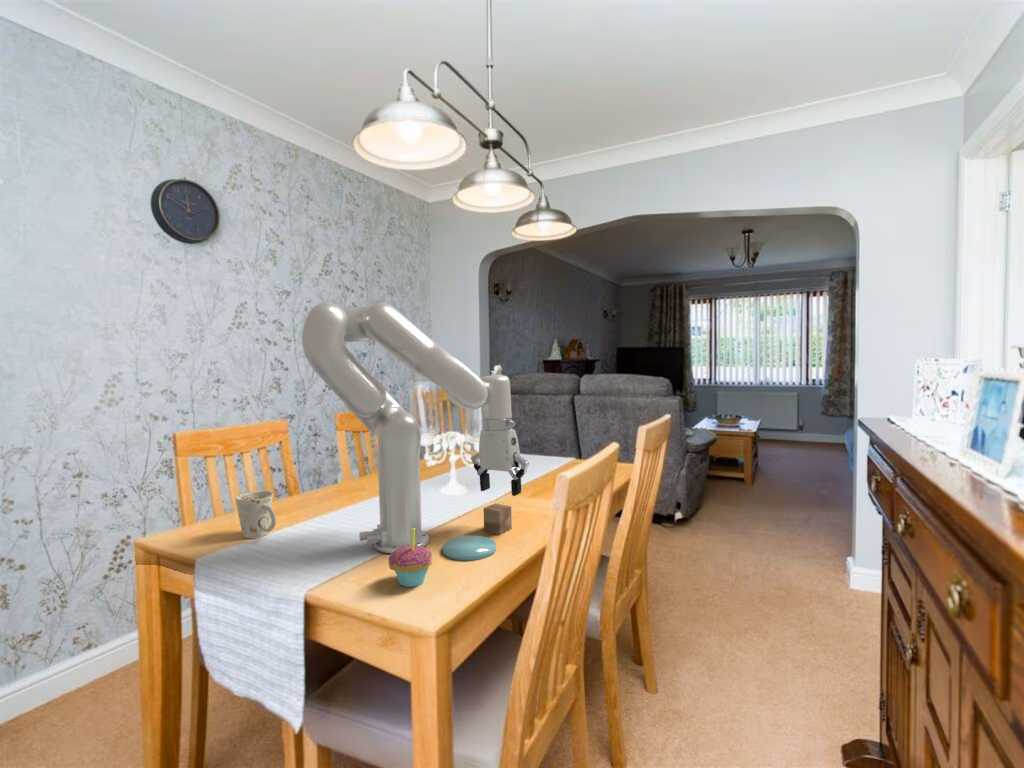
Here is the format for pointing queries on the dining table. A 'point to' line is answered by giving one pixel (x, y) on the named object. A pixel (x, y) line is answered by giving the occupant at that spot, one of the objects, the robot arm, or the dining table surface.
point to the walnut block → (497, 518)
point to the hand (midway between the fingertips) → (500, 492)
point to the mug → (256, 513)
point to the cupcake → (410, 563)
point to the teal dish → (469, 548)
